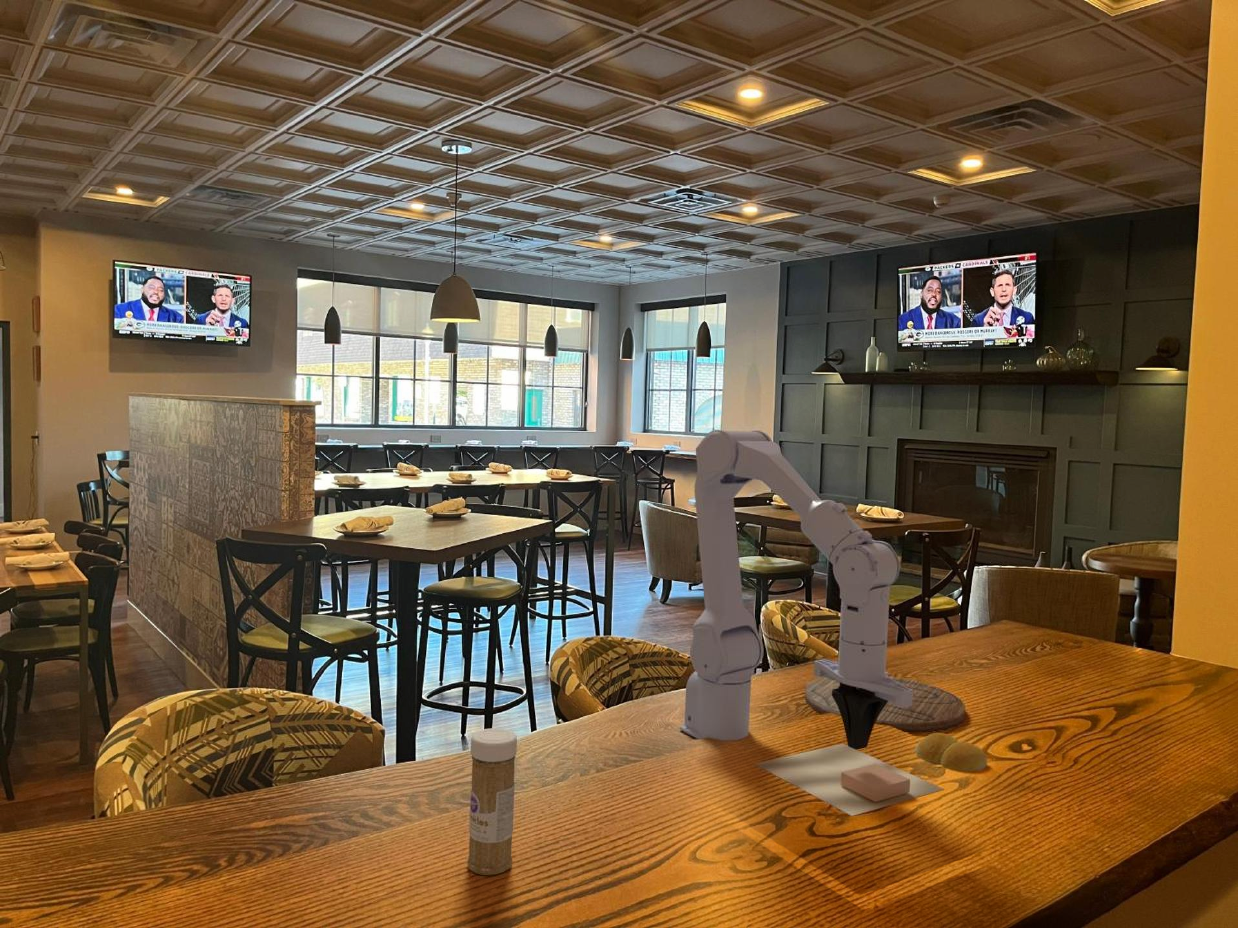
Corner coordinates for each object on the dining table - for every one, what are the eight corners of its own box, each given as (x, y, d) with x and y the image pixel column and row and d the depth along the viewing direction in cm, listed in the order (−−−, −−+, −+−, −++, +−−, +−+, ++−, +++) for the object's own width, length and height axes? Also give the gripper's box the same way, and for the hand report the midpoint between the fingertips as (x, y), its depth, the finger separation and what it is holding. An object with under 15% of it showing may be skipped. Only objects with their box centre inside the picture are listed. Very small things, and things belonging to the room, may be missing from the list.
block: (841, 771, 111) (875, 788, 106) (875, 763, 114) (910, 779, 109) (840, 785, 111) (875, 803, 106) (874, 776, 114) (909, 793, 109)
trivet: (946, 747, 129) (946, 734, 129) (781, 712, 142) (782, 700, 142) (978, 703, 150) (978, 692, 150) (832, 675, 163) (833, 665, 163)
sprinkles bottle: (457, 865, 90) (461, 734, 89) (492, 849, 93) (495, 723, 93) (488, 882, 87) (492, 746, 86) (522, 865, 90) (526, 734, 90)
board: (754, 771, 117) (754, 763, 117) (842, 750, 125) (842, 743, 125) (851, 824, 102) (852, 815, 102) (943, 796, 111) (944, 789, 111)
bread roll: (968, 784, 116) (970, 754, 115) (906, 762, 122) (907, 733, 122) (999, 769, 121) (1000, 740, 121) (937, 749, 128) (939, 721, 128)
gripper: (932, 650, 108) (926, 761, 108) (843, 623, 120) (838, 723, 121) (891, 656, 104) (885, 771, 105) (804, 628, 116) (799, 731, 117)
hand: (857, 746), depth 112 cm, fingers closed
